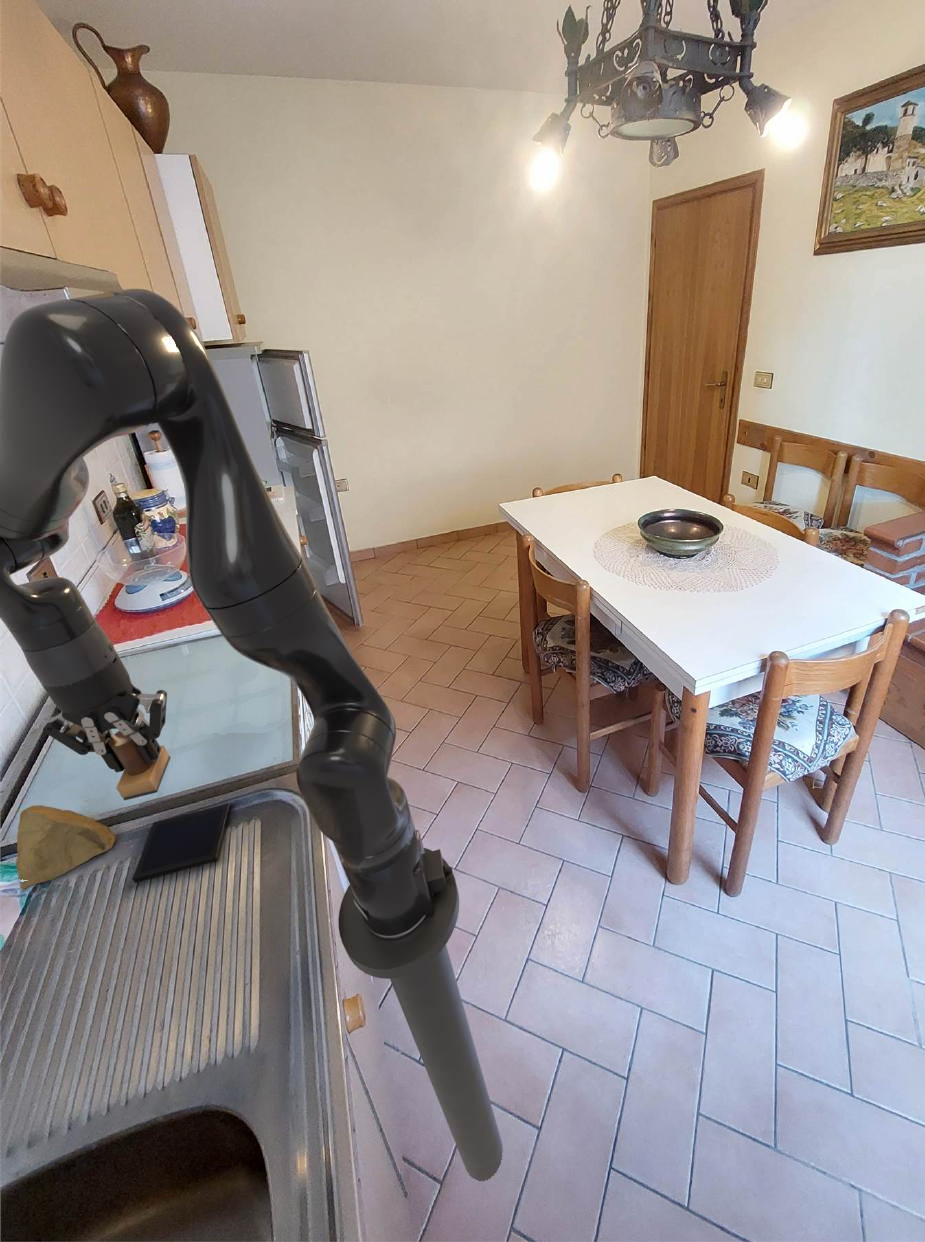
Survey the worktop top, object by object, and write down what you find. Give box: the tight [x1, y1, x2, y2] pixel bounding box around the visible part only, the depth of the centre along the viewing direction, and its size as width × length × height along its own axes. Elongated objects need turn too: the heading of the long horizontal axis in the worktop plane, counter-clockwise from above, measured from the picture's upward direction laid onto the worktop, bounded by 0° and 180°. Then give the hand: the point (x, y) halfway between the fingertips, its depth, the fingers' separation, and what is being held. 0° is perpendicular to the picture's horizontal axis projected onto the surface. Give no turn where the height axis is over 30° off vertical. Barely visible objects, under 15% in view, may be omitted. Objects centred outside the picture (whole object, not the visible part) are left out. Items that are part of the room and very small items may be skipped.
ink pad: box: [131, 803, 232, 884], centre depth 81 cm, size 11×9×1 cm
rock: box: [15, 804, 116, 890], centre depth 78 cm, size 11×9×10 cm
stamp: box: [109, 730, 171, 801], centre depth 72 cm, size 6×4×8 cm, turn 14°
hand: (138, 762), depth 73 cm, fingers closed on stamp, 3 cm apart
